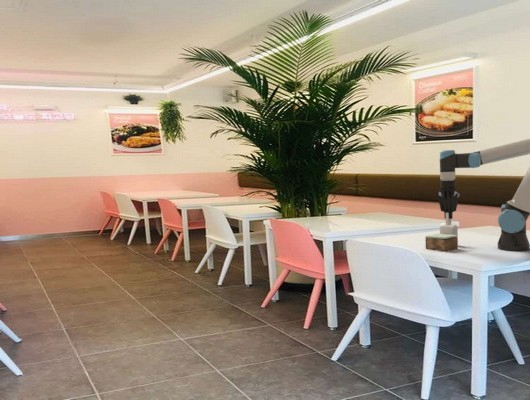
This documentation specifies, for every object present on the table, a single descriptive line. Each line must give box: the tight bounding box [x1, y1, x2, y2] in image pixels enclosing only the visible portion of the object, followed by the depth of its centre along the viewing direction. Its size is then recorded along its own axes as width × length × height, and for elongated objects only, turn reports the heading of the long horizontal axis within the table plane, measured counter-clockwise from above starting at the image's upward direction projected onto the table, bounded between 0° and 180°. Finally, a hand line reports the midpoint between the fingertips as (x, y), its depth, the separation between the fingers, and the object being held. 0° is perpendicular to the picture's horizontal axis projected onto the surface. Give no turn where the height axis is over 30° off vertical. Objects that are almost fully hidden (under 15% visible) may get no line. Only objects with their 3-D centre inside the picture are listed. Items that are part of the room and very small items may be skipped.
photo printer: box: [439, 222, 459, 238], centre depth 279 cm, size 10×4×12 cm, turn 29°
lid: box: [425, 233, 459, 239], centre depth 269 cm, size 12×11×1 cm
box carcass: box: [425, 237, 459, 252], centre depth 269 cm, size 12×11×6 cm
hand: (448, 224), depth 265 cm, fingers closed
